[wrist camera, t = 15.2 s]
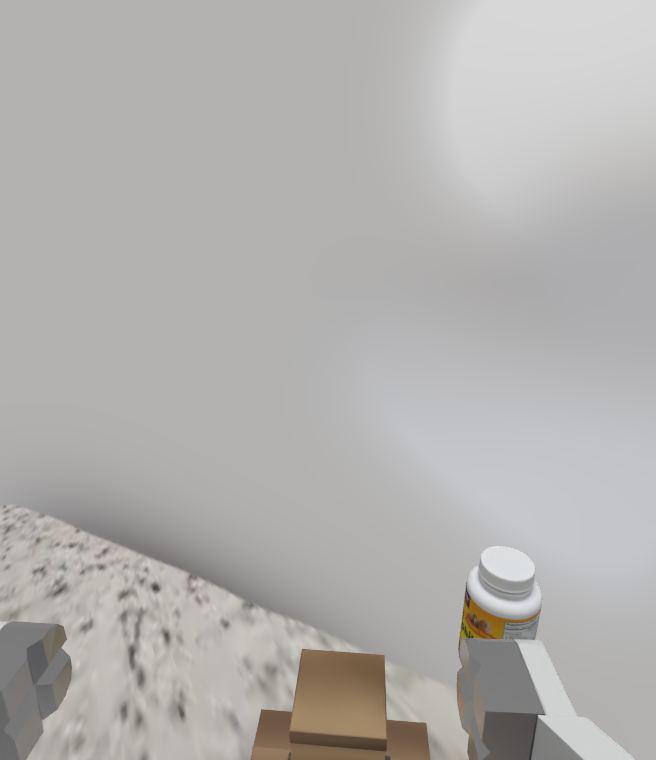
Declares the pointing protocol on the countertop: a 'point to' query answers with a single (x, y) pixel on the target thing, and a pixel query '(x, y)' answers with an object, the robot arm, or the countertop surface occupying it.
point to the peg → (339, 707)
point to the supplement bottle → (501, 597)
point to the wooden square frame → (273, 745)
